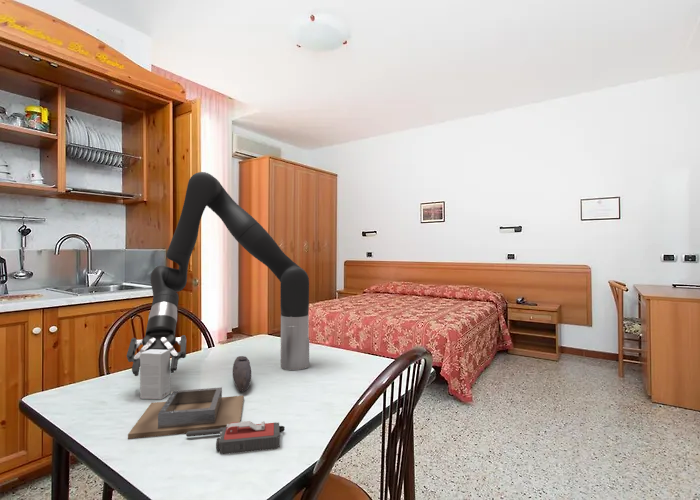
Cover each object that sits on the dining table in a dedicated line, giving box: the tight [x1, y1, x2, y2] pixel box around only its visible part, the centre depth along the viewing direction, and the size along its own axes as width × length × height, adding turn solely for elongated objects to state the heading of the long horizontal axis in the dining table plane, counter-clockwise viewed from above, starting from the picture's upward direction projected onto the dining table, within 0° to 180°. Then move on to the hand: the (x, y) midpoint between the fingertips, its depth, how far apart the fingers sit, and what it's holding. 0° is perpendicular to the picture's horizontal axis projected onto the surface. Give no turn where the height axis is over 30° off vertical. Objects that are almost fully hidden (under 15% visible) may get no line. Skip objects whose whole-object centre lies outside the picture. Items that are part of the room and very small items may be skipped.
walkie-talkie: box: [185, 420, 286, 455], centre depth 75 cm, size 9×4×20 cm
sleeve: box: [158, 386, 223, 429], centre depth 86 cm, size 11×13×3 cm
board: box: [127, 395, 245, 440], centre depth 86 cm, size 22×16×1 cm
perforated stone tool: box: [232, 355, 252, 393], centre depth 106 cm, size 15×5×7 cm, turn 17°
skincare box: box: [139, 349, 171, 400], centre depth 98 cm, size 6×4×12 cm
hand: (154, 373), depth 97 cm, fingers open, 8 cm apart
